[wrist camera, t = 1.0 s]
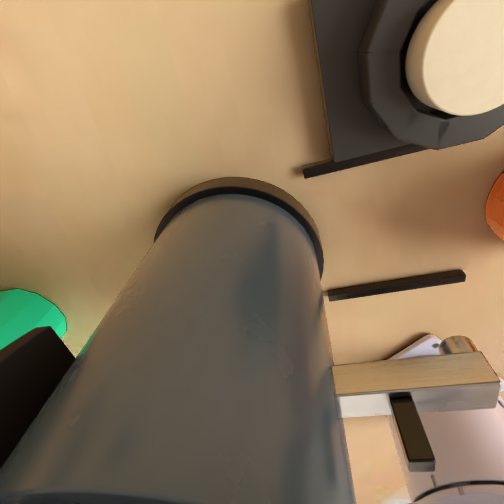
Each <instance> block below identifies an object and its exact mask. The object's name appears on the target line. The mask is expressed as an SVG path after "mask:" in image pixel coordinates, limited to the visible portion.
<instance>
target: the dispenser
mask: <svg viewBox="0 0 504 504" xmlns="http://www.w3.org/2000/svg"><path fill="white" fill-rule="evenodd" d="M426 149H430V148H427V147H423V146H420V145H416V144H413V143H411V144H407V145H403V146H399V147H395V148H391V149H387V150H383V151H379V152H375V153H371V154H367V155H363V156H359V157H355V158H351V159H347V160H343V161H339V162H334V161H333V159H328V160H324V161H320V162H316V163H312V164H308V165H304V166H303V167H302V168H303V173H304V178H305V179H307V178H311V177H315V176H319V175H323V174H327V173H331V172H336V171H340V170H344V169H348V168H352V167H356V166H360V165H364V164H369V163H373V162H377V161H381V160H385V159H389V158H393V157H398V156H402V155H406V154H410V153H414V152H418V151H422V150H426ZM323 263H324V260H323V251H322V246H321V241H320V237H319V233H318V230H317V227H316V225H315V223H314V221H313V219H312V218H311V216H310V215H309V213H308V212H307V210H306V209H305V208H304V207H303V206H302V205H301V204H300V203H299V202H298V201H297V200H296V199H295V198H294V197H292V196H291V195H290V194H288V193H287V192H285V191H283V190H282V189H280V188H278V187H276V186H274V185H272V184H269V183H266V182H263V181H260V180H255V179H250V178H241V177H228V178H220V179H214V180H210V181H207V182H204V183H201V184H199V185H197V186H195V187H193V188H191V189H190V190H188V191H187V192H186V193H184V194H183V195H182V196H181V197H180V198H179V199H178V200H176V201H175V203H174V204H173V205H172V207H171V208H170V209H169V211H168V212H167V213H166V215H165V216H164V217H163V219H162V221H161V222H160V224H159V226H158V228H157V231H156V234H155V238H154V244H153V246H152V247H151V249H150V250H149V252H148V253H147V255H146V256H145V258H144V259H143V261H142V262H141V264H140V265H139V266H138V268H137V269H136V271H135V272H134V274H133V275H132V277H131V278H130V280H129V281H128V283H127V284H126V286H125V287H124V288H123V290H122V291H121V293H120V294H119V296H118V297H117V299H116V300H115V302H114V303H113V305H112V306H111V308H110V309H109V310H108V312H107V313H106V315H105V316H104V318H103V319H102V321H101V322H100V324H99V325H98V327H97V328H96V329H95V331H94V332H93V334H92V335H91V337H90V338H89V340H88V341H87V343H86V344H85V346H84V347H83V349H82V350H81V351H80V353H79V354H78V356H77V357H76V359H75V360H74V362H73V363H72V365H71V366H70V368H69V369H68V371H67V372H66V373H65V375H64V376H63V378H62V379H61V381H60V382H59V384H58V385H57V387H56V388H55V390H54V391H53V392H52V394H51V395H50V397H49V398H48V400H47V401H46V403H45V404H44V406H43V407H42V409H41V410H40V412H39V413H38V414H37V416H36V417H35V419H34V420H33V422H32V423H31V425H30V426H29V428H28V429H27V431H26V432H25V434H24V435H23V436H22V438H21V439H20V441H19V442H18V444H17V445H16V447H15V448H14V450H13V451H12V453H11V454H10V456H9V457H8V458H7V460H6V461H5V463H4V464H3V466H2V467H1V469H0V504H356V499H355V492H354V486H353V480H352V474H351V468H350V461H349V455H348V449H347V443H346V437H345V430H344V424H343V418H349V417H365V416H381V415H392V417H393V421H394V424H395V427H396V431H397V434H398V437H399V441H400V444H401V448H402V451H403V454H404V458H405V461H406V464H407V468H408V470H409V471H410V472H434V471H435V464H436V459H435V456H434V453H433V451H432V448H431V445H430V443H429V440H428V437H427V435H426V432H425V429H424V427H423V424H422V421H421V419H420V416H419V413H429V412H445V411H461V410H477V409H493V408H495V407H496V405H497V401H498V396H499V392H500V388H501V381H500V379H499V378H498V376H497V375H496V373H495V372H494V370H493V369H492V367H491V366H490V364H489V363H488V361H487V360H486V358H485V357H484V355H483V354H482V352H481V351H478V350H477V348H476V347H475V345H474V344H473V342H472V341H471V340H470V339H469V338H467V337H465V336H452V337H449V338H446V339H445V340H443V341H442V342H441V343H440V345H439V352H440V354H441V355H432V356H422V357H412V358H402V359H392V360H382V361H373V362H363V363H353V364H343V365H334V362H333V356H332V350H331V343H330V337H329V331H328V325H327V319H326V312H325V306H324V300H323V294H322V288H321V278H322V273H323ZM465 279H466V274H465V273H464V272H463V271H462V270H455V271H449V272H442V273H436V274H430V275H423V276H417V277H410V278H404V279H398V280H391V281H385V282H378V283H372V284H366V285H359V286H353V287H347V288H340V289H334V290H328V291H327V292H328V297H329V301H337V300H344V299H350V298H357V297H364V296H371V295H377V294H384V293H391V292H398V291H404V290H411V289H418V288H425V287H431V286H438V285H445V284H452V283H458V282H465Z"/></svg>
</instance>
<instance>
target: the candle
mask: <svg viewBox="0 0 504 504" xmlns="http://www.w3.org/2000/svg"><path fill="white" fill-rule="evenodd" d="M45 326H51V327H52V328H53V330H54V331H55V332H56V334H57V335H58V336H59V338H61V337H62V336H63V334H64V333H65V332H66V330H67V327H66V319H65V317H64V316H63V314H62V313H61V312H60V311H59V309H58V308H57V307H56V306H55V305H54V304H53V303H51V302H49V301H48V300H46V299H45V298H43V297H41V296H40V295H38V294H36V293H32V292H28V291H24V290H20V289H13V290H7V291H2V292H0V350H1V349H3V348H4V347H6V346H7V345H9V344H10V343H12V342H13V341H15V340H16V339H18V338H19V337H21V336H22V335H24V334H26V333H27V332H29V331H31V330H33V329H34V328H36V327H45Z"/></svg>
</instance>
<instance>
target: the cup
mask: <svg viewBox="0 0 504 504" xmlns="http://www.w3.org/2000/svg"><path fill="white" fill-rule="evenodd" d="M485 213H486V220H487V223H488V225H489V227H490V228H491V230H492V231H493V232H494V233H495V234H496V235H497V236H498V237H499V238H501V239H502V240H503V241H504V172H503V173H502V174H501V176H500V177H499V178H498V180H497V181H496V182H495V184H494V186H493V187H492V189H491V191H490V193H489V196H488V199H487V202H486V208H485Z"/></svg>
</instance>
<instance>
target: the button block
mask: <svg viewBox="0 0 504 504" xmlns="http://www.w3.org/2000/svg"><path fill="white" fill-rule="evenodd" d="M437 1H438V0H308V4H309V11H310V18H311V25H312V31H313V38H314V45H315V52H316V58H317V65H318V72H319V78H320V85H321V92H322V99H323V105H324V112H325V119H326V126H327V132H328V139H329V146H330V152H331V157H332V159H333V161H334V162H339V161H343V160H347V159H351V158H355V157H359V156H363V155H367V154H371V153H375V152H379V151H383V150H387V149H391V148H395V147H399V146H403V145H407V144H411V143H413V144H416V145H420V146H423V147H427V148H430V149H434V150H435V149H436V150H439V149H443V148H447V147H452V146H456V145H460V144H464V143H468V142H472V141H477V140H481V139H484V138H485V137H487V136H488V135H490V134H491V133H493V132H494V131H495V130H497V129H498V128H500V127H501V126H502V125H504V104H502V105H501V106H499V107H497V108H495V109H492V110H490V111H487V112H484V113H481V114H477V115H471V116H457V115H452V114H449V113H446V112H443V111H440V110H438V109H435V108H432V107H430V106H427V105H425V104H424V103H422V102H421V101H419V100H418V99H417V98H416V97H415V95H414V94H413V93H412V91H411V89H410V87H409V85H408V82H407V78H406V70H405V64H406V55H407V50H408V46H409V43H410V40H411V38H412V35H413V33H414V31H415V29H416V27H417V25H418V24H419V22H420V21H421V19H422V18H423V16H424V15H425V14H426V12H427V11H428V10H429V9H430V8H431V7H432V6H433V5H434V4H435V3H436V2H437Z"/></svg>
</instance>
